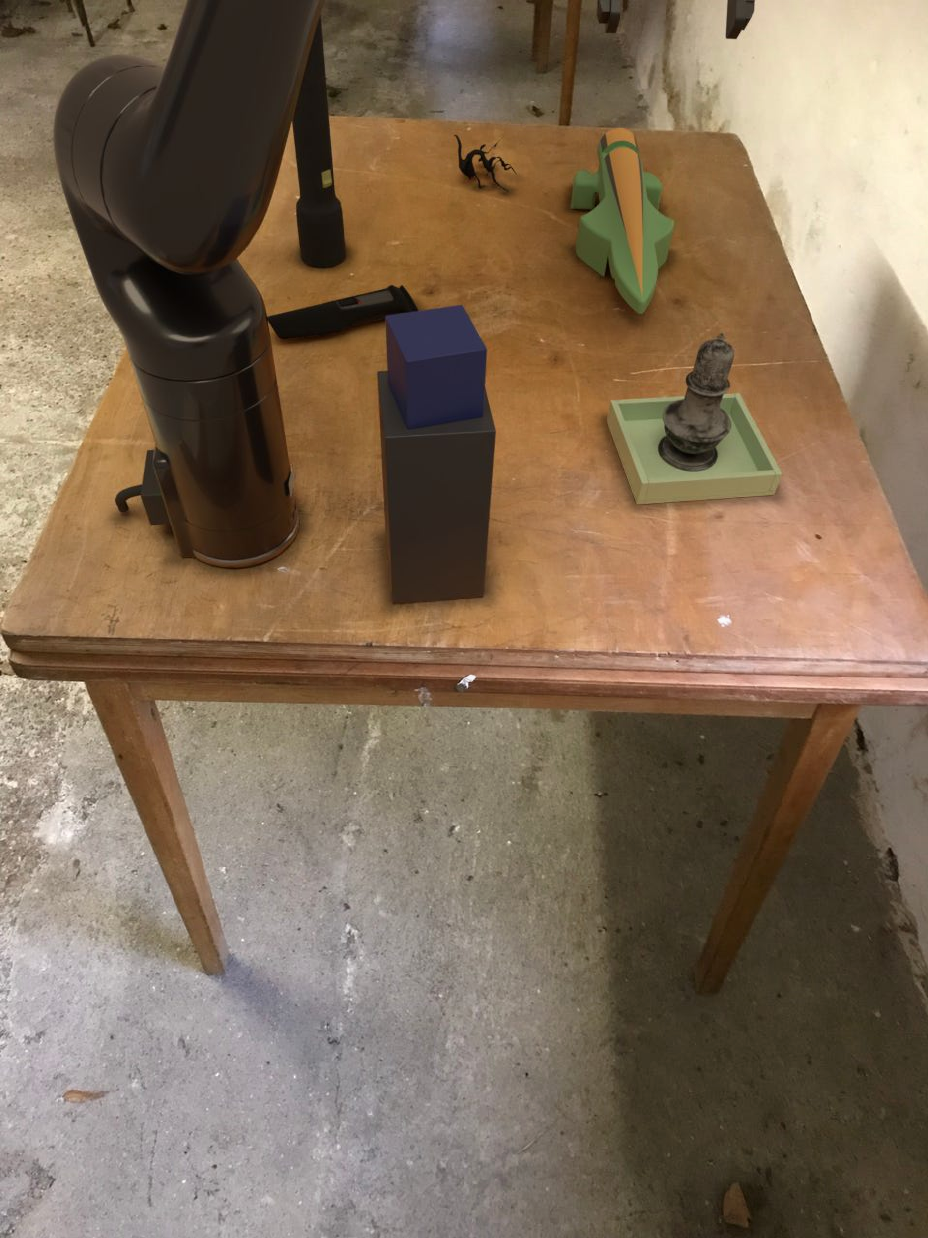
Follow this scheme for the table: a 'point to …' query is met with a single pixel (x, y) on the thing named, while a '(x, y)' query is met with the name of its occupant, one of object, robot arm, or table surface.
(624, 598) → the table surface
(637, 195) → the toy spaceship
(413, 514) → the dark stand
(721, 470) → the pale tray
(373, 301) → the electric trimmer
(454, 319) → the navy block
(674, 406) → the dark grey chess piece
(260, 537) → the robot arm
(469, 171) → the creature
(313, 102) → the flashlight
